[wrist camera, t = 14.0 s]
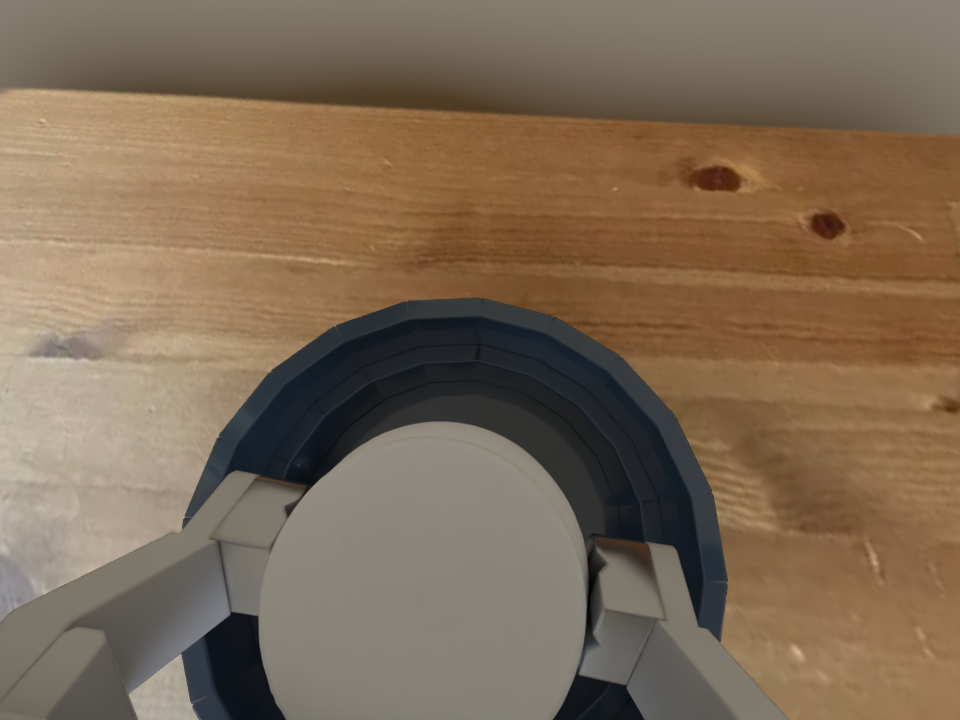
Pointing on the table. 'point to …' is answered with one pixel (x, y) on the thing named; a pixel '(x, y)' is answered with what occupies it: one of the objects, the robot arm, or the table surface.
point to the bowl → (483, 403)
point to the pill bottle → (426, 585)
